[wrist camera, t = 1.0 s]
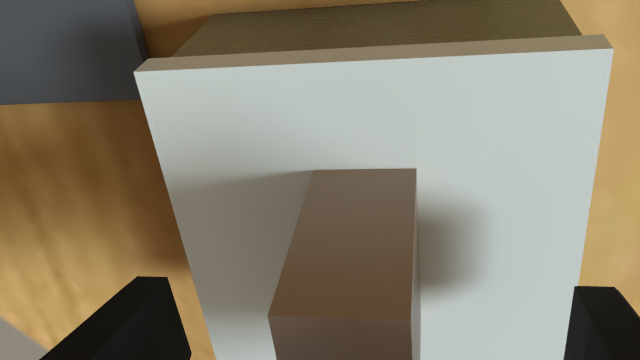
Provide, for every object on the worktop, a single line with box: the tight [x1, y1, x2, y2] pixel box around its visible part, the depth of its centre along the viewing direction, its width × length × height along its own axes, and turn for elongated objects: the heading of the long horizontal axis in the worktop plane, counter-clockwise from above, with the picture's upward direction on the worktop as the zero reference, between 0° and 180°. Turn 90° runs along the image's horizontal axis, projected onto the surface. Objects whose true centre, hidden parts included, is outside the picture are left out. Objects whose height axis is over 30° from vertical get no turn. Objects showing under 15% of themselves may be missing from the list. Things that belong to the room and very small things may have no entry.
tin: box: [171, 0, 582, 57], centre depth 15 cm, size 8×8×4 cm
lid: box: [134, 34, 614, 360], centre depth 11 cm, size 8×8×5 cm
